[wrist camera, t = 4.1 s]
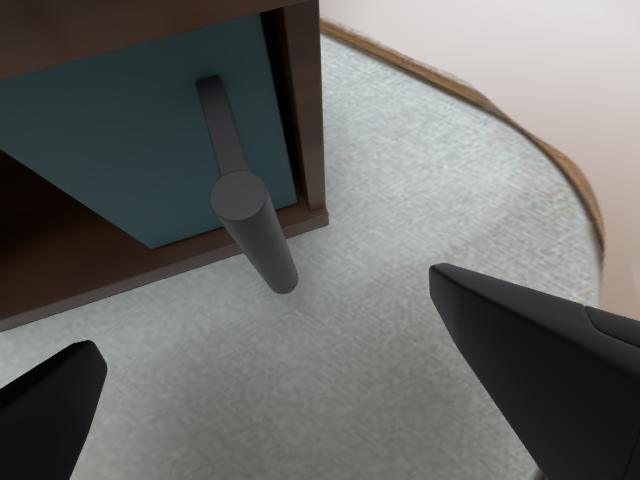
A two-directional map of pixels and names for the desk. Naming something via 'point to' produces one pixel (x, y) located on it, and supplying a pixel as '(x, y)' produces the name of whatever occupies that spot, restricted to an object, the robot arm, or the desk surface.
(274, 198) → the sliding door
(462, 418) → the desk surface
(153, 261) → the cabinet
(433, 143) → the desk surface
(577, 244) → the desk surface
